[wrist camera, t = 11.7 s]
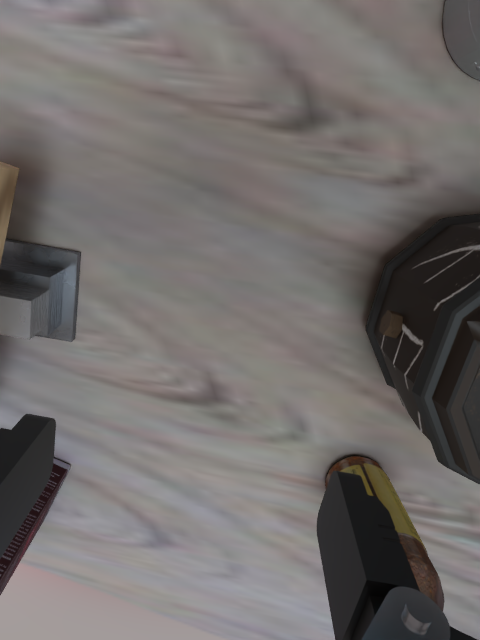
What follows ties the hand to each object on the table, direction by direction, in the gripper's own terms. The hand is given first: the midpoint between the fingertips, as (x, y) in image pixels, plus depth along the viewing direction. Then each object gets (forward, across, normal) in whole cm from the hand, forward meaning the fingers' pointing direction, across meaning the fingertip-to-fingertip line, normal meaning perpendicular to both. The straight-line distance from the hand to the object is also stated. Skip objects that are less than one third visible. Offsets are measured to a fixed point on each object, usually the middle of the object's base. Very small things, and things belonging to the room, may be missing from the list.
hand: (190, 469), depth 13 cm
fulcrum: (+27, +19, +6) cm, 33 cm away
